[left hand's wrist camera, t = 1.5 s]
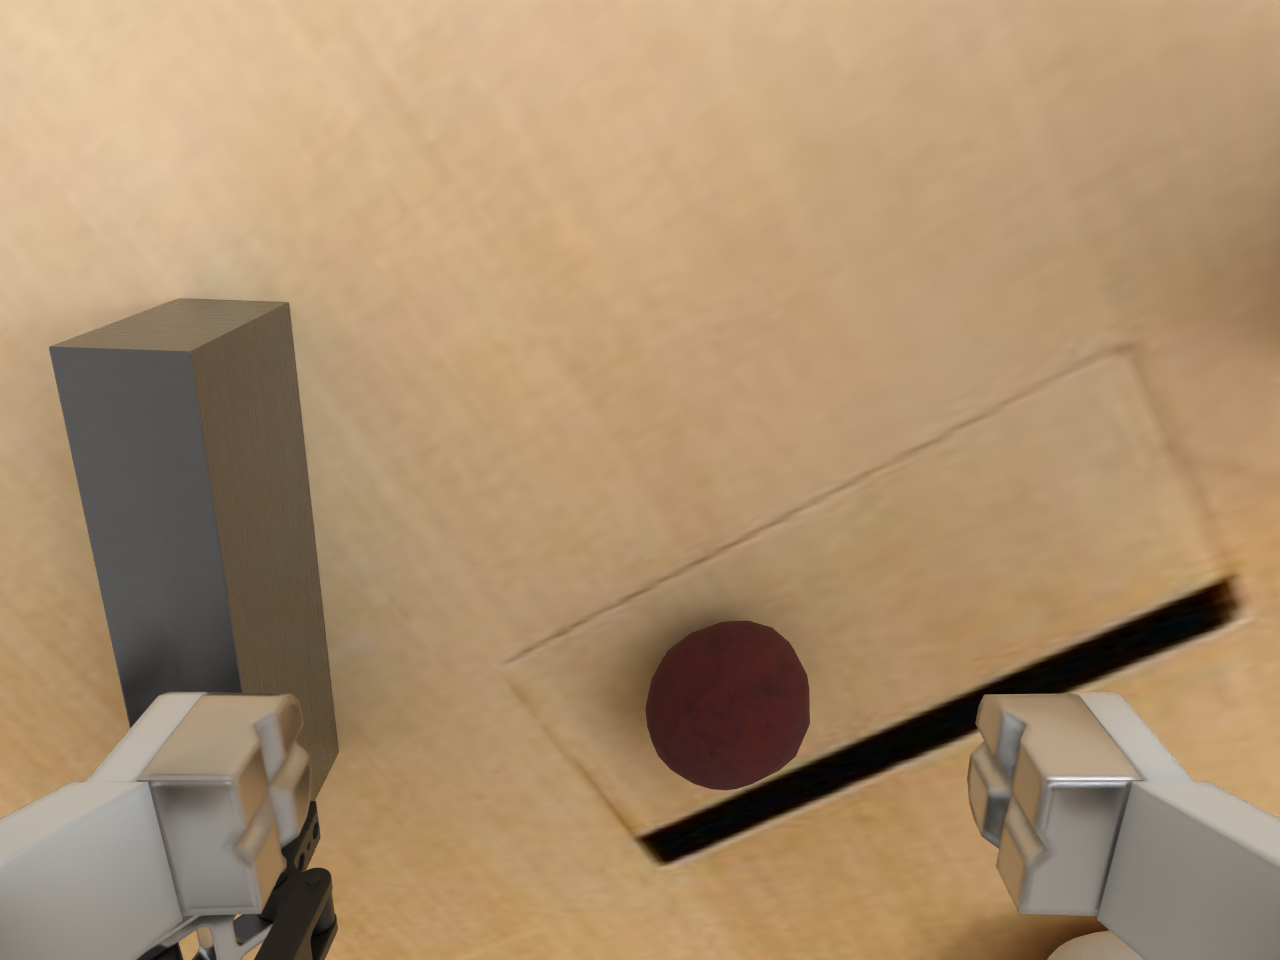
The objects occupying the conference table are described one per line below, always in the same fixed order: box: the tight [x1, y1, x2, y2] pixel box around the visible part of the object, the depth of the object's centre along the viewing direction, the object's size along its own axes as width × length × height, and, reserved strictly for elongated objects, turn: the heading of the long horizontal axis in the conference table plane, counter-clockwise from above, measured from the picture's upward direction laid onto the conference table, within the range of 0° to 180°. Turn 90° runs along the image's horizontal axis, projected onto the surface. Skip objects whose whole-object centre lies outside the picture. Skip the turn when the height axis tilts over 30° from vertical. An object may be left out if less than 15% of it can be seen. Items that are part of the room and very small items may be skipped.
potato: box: [646, 621, 810, 790], centre depth 41 cm, size 7×8×7 cm
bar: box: [49, 299, 338, 801], centre depth 38 cm, size 23×5×9 cm, turn 178°
